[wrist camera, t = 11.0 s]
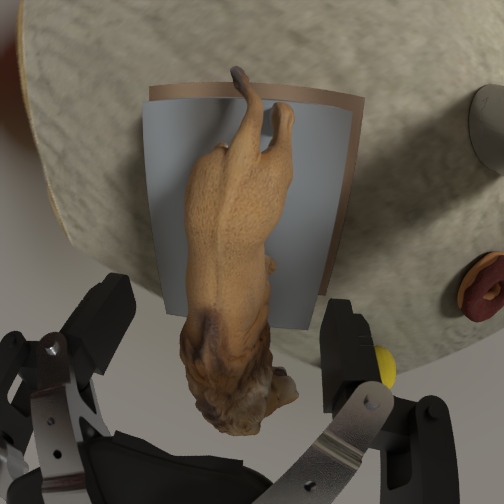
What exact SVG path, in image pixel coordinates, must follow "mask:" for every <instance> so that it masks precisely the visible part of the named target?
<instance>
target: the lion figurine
mask: <svg viewBox="0 0 504 504" xmlns="http://www.w3.org/2000/svg"><path fill="white" fill-rule="evenodd" d="M231 75H232V78H233V84H234V87H235V89H236V90H237V91H238V92H239V93H240V94H241V95H242V96H243V97H244V99H245V100H246V102H247V110H246V113H245V116H244V117H243V119H242V121H241V124H240V127H239V129H238V131H237V133H236V135H235V136H234V138H233V140H232V142H231V144H230V146H229V148H228V145H227V144H226V143H224V142H220V143H218V144H217V145H216V146H215V147H214V148H213V149H212V151H211V152H210V153H207V154H205V155H203V156H201V157H200V158H199V159H198V160H197V161H196V162H195V163H194V165H193V167H192V170H191V172H190V175H189V178H188V182H187V186H186V189H185V195H184V206H185V207H184V227H185V233H186V237H187V241H188V258H187V268H186V277H185V284H186V294H187V301H188V314H187V320H186V322H185V324H184V326H183V329H182V331H181V334H180V358H181V360H182V362H183V364H184V365H185V369H186V378H187V380H188V386H189V390H190V391H191V393H192V395H193V396H194V397H195V398H196V400H197V401H196V403H195V404H196V408H197V409H198V410H199V411H201V412H202V415H203V417H204V418H205V419H206V420H207V421H208V422H209V423H211V424H212V425H213V426H214V427H215V428H216V429H218V430H219V432H221V433H227V434H229V435H232V436H241V435H242V436H247V435H256V434H258V433H259V431H260V427H261V426H260V423H261V421H262V420H263V419H264V418H265V417H267V416H269V415H271V414H272V413H273V412H274V411H275V410H276V409H277V408H280V407H281V406H283V405H286V404H289V403H291V402H293V401H295V400H296V399H297V398H298V397H299V393H298V392H297V390H296V384H295V382H294V380H293V379H292V378H291V377H290V376H287V373H286V370H285V368H284V367H272V360H273V355H272V353H271V352H270V349H269V347H270V326H269V323H268V315H269V307H268V306H269V301H270V293H271V289H270V283H269V279H268V275H271V274H272V273H273V272H274V270H275V269H276V268H277V265H276V263H275V261H274V260H273V259H272V258H271V257H270V256H268V255H265V247H264V242H265V241H266V239H267V238H268V236H269V235H270V233H271V232H272V230H273V229H274V228H275V226H276V225H277V223H278V221H279V220H280V218H281V215H282V211H283V208H284V205H285V200H286V195H287V191H288V188H289V186H290V184H291V182H292V179H293V165H292V141H291V137H292V125H293V124H294V121H295V117H294V111H293V109H292V107H291V106H290V105H289V104H287V103H284V102H276V103H274V104H273V106H272V108H271V111H270V115H269V121H270V124H271V126H272V127H273V136H272V139H271V141H270V143H269V145H268V148H267V149H265V150H264V151H263V152H261V153H260V150H259V149H260V133H261V127H262V122H263V103H262V100H261V98H260V97H259V96H258V95H257V93H256V92H255V91H254V90H253V89H252V88H251V86H250V85H249V77H248V76H247V75H246V74H245V73H244V70H243V69H242V68H240V67H238V66H235V67H232V68H231Z"/></svg>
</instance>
